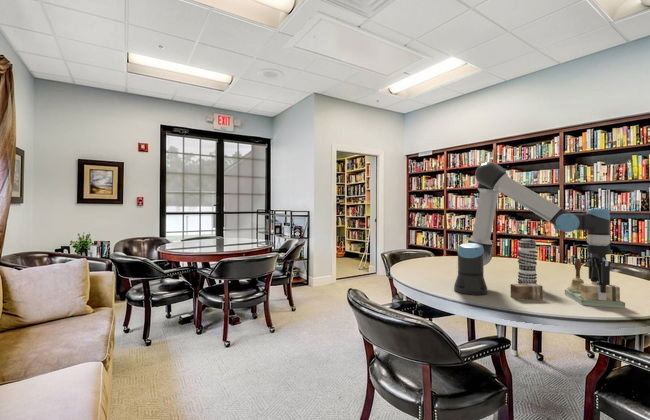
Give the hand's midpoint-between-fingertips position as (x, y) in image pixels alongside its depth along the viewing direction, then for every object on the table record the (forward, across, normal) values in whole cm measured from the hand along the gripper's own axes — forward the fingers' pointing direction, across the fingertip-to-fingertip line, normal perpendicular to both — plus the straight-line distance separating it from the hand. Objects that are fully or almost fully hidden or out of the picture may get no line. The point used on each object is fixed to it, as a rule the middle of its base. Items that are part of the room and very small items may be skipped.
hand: (598, 298), depth 136 cm
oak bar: (0, 0, 0) cm, 1 cm away
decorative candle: (+2, +26, +20) cm, 33 cm away
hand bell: (+3, +25, -2) cm, 25 cm away
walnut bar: (+2, +1, +27) cm, 27 cm away
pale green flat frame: (+2, +5, 0) cm, 6 cm away
